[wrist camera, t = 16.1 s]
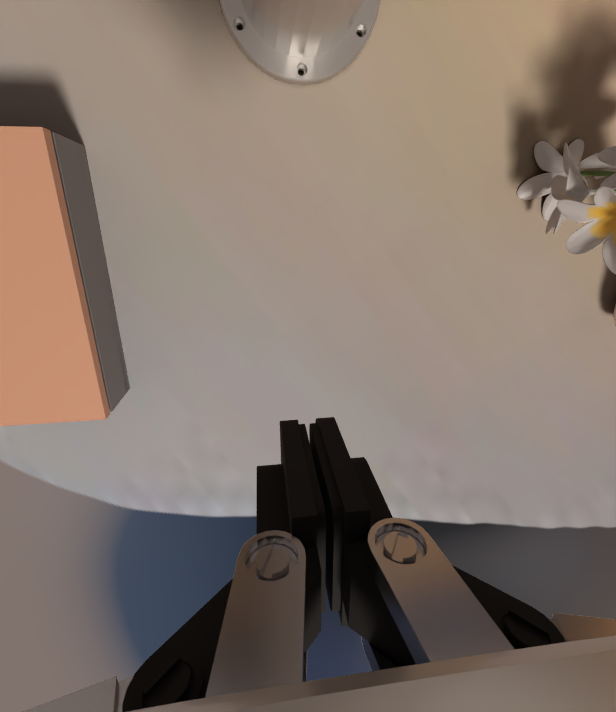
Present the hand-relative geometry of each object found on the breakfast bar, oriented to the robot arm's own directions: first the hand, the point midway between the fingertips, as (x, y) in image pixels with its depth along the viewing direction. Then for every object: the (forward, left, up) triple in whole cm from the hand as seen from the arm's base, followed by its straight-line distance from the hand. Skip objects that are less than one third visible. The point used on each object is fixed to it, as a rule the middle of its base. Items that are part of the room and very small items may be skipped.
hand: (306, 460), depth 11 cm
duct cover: (-2, -21, -22) cm, 30 cm away
